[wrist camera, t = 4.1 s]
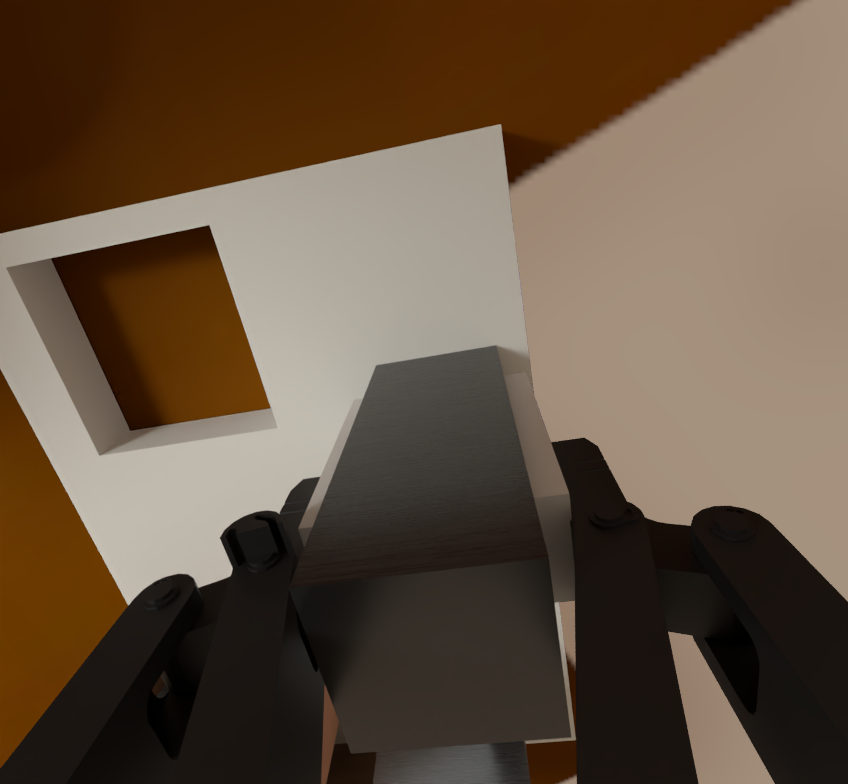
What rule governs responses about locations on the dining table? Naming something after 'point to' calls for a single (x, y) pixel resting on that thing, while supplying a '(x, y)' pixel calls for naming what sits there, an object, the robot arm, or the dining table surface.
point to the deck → (267, 338)
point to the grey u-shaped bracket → (435, 581)
